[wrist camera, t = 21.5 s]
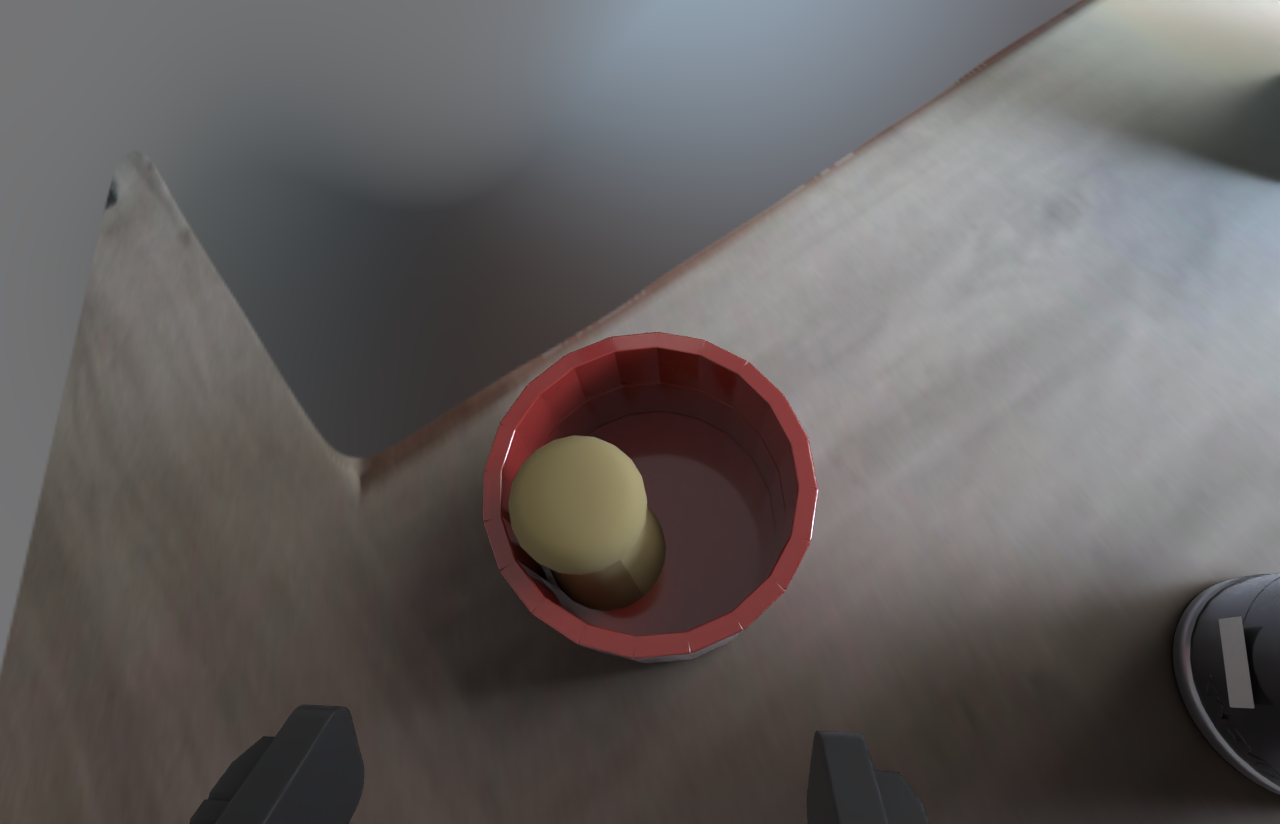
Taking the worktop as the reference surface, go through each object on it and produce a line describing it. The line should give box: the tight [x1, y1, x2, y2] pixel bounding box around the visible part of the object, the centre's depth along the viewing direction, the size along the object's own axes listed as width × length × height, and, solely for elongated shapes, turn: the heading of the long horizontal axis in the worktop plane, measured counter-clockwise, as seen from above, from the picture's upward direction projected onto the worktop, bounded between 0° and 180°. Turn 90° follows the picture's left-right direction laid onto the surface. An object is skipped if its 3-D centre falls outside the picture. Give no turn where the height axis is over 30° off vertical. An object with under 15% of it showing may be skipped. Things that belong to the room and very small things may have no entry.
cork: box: [508, 435, 666, 611], centre depth 28 cm, size 6×6×11 cm
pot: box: [483, 332, 818, 663], centre depth 31 cm, size 14×14×8 cm
